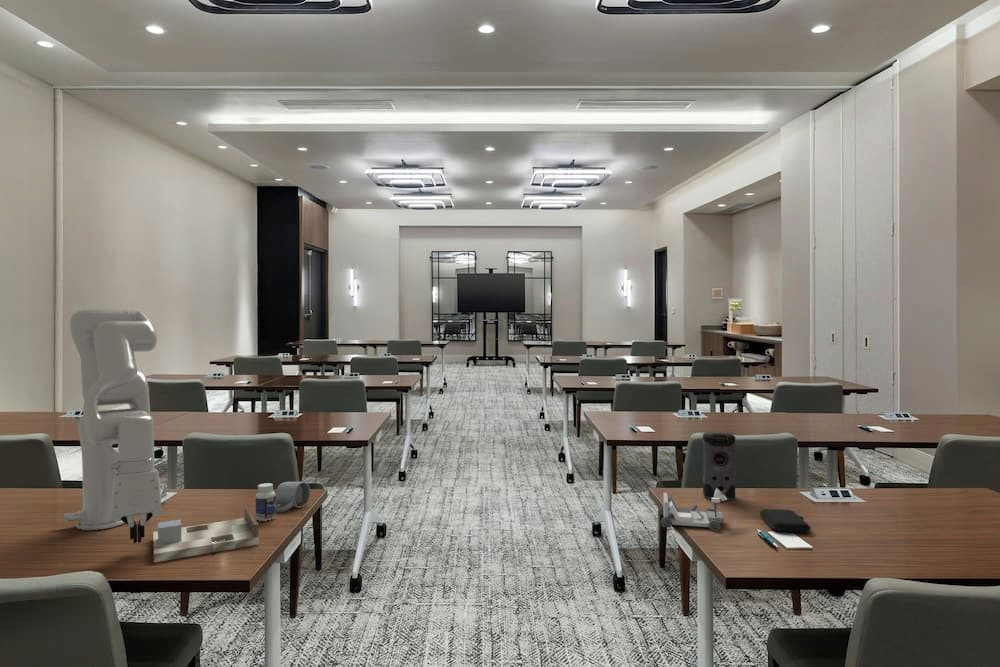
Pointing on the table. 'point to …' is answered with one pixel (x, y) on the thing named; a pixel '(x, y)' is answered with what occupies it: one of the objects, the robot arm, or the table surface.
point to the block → (169, 531)
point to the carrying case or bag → (785, 521)
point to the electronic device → (718, 464)
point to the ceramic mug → (292, 495)
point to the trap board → (210, 538)
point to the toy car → (692, 514)
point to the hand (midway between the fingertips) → (137, 541)
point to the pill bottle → (265, 502)
